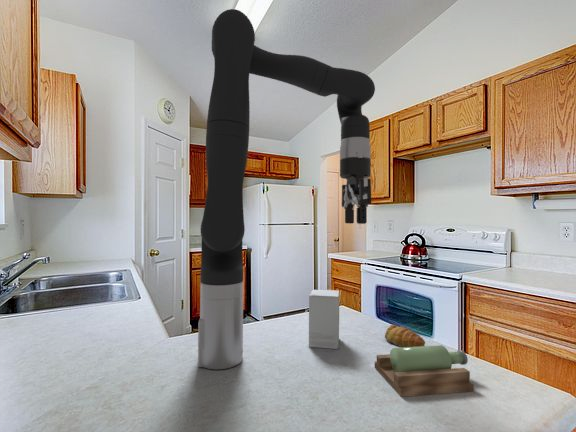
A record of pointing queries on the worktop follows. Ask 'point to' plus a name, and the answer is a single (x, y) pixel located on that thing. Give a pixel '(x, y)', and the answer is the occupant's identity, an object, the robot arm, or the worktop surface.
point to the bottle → (425, 358)
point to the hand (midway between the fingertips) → (355, 223)
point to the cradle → (424, 379)
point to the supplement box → (324, 319)
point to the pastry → (403, 337)
